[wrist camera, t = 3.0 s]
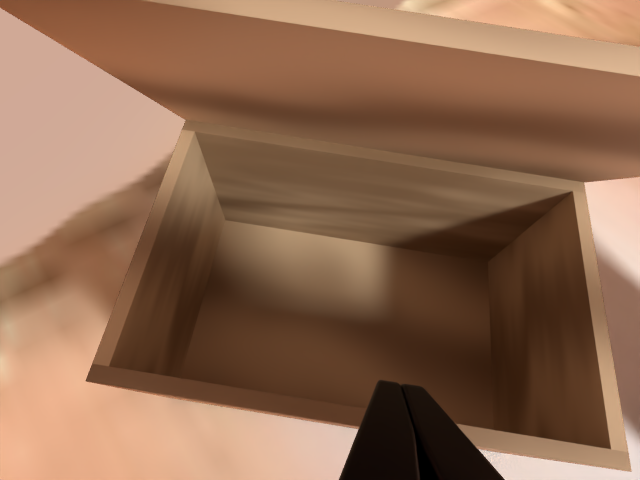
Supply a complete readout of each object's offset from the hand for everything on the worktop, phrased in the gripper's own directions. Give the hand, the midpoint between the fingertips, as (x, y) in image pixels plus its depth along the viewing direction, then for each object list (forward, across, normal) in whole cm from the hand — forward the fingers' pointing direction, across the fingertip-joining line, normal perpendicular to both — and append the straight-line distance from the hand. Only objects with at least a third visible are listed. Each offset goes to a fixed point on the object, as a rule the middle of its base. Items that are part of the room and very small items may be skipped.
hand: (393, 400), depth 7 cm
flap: (+5, 0, -5) cm, 7 cm away
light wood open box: (+12, 0, +6) cm, 13 cm away
